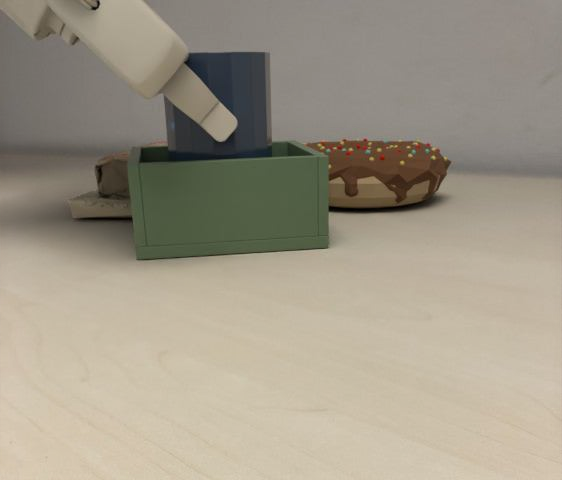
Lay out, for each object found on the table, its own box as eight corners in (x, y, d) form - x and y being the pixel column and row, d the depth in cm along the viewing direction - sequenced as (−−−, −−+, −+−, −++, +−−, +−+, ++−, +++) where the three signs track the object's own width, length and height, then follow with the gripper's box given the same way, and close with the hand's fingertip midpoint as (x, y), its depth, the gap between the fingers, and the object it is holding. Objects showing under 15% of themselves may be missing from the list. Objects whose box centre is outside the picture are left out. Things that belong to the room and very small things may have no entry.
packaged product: (134, 138, 71) (230, 137, 70) (139, 187, 73) (233, 187, 72) (59, 158, 55) (184, 157, 54) (68, 221, 57) (188, 221, 55)
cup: (174, 221, 46) (160, 53, 42) (171, 203, 52) (159, 56, 48) (280, 216, 47) (276, 50, 43) (265, 199, 53) (260, 54, 49)
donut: (283, 216, 56) (282, 151, 54) (291, 189, 69) (290, 135, 67) (463, 214, 56) (468, 147, 54) (438, 187, 68) (442, 132, 66)
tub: (136, 259, 44) (126, 164, 42) (139, 224, 55) (131, 147, 52) (328, 247, 46) (328, 155, 44) (296, 216, 56) (295, 140, 54)
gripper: (60, -126, 32) (275, 96, 37) (109, -53, 51) (248, 89, 56) (-21, -15, 34) (197, 185, 39) (55, 17, 53) (196, 149, 57)
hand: (227, 128), depth 47 cm, fingers closed on cup, 7 cm apart
